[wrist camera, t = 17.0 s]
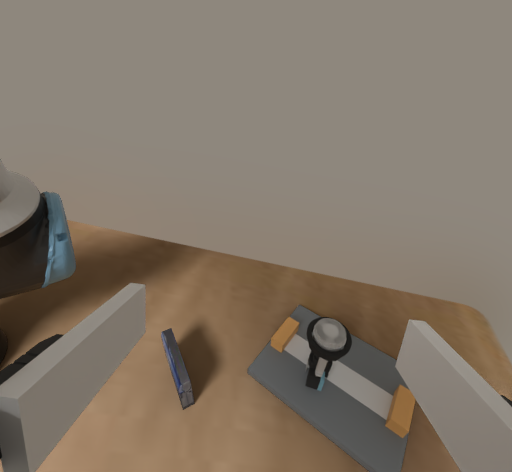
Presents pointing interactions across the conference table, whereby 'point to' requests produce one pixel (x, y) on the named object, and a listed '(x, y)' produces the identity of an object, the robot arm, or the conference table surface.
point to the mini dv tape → (177, 369)
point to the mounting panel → (341, 394)
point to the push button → (325, 348)
